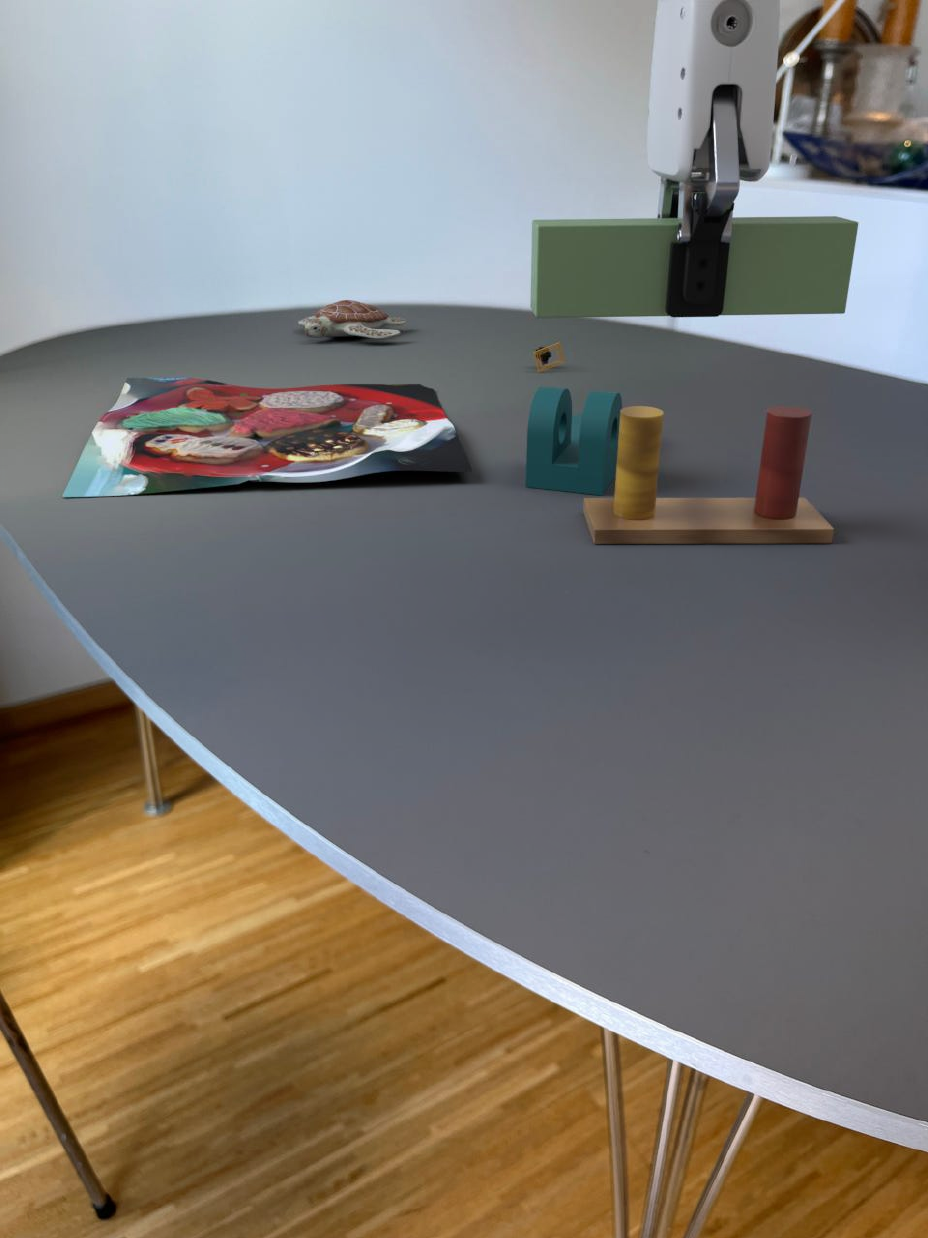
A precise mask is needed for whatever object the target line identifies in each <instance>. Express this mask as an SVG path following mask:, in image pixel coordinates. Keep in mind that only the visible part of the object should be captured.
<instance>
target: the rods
mask: <svg viewBox="0 0 928 1238" xmlns="http://www.w3.org/2000/svg"><path fill="white" fill-rule="evenodd" d="M812 415H813V414H812V411H810V410H809V409H806V408H803V407H798V406H790V405H779V406H778V405H777V406H772V407H769V408H768V409H767V410H766V415H765V423H764V432H763V438H762V447H761V453H760V460H759V467H758V468H759V469H758V477H757V483H756V492H755V497H657V496H658V495H657V494H658V493H657V491H658V482H659V470H660V459H661V451H662V450H661V449H662V438H663V427H664V416H665V412H664V411H663V410H662V409H661V408H657V407H653V406H646V405H645V406H644V405H633V406H632V405H631V406H626V407H622V409H621V411H620V423H619V437H618V451H617V465H616V476H615V478H614V481H615V484H614V493H613V494H614V495H613V497H584V498H583V505H582V512H583V515H584V516H583V517H584V519H585V522H586V524H587V527H588V530H589V533H590V536H591V539H592V542H593V544H594V545H678V544H679V545H703V544H704V545H706V544H707V545H723V544H727V545H731V544H733V545H737V544H742V545H744V544H749V545H750V544H751V545H752V544H753V545H754V544H758V545H759V544H761V545H763V544H764V545H767V544H768V545H769V544H771V545H772V544H833V539H834V533H835V528H834V527H833V526H832V525H831V524H830V522H828V520H827V519H826V518H825V517H824V516H823V515H822V514H821V513H820V511H818V509H816V507H815V506H814V505H813V504H812V503H811V502H810V500H808V499H807V498H806V497H800V493H801V487H802V480H803V473H804V467H805V461H806V453H807V448H808V441H809V434H810V427H811V421H812Z"/></svg>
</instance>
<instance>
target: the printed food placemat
mask: <svg viewBox="0 0 928 1238" xmlns="http://www.w3.org/2000/svg"><path fill="white" fill-rule="evenodd" d="M395 471H398V472H399V471H412V472H413V471H414V472H415V471H416V472H419V471H420V472H450V473H452V472H453V473H458V472H459V473H472V472H473V468H472V466H471V464H470V460H469V458H468V456H467V453H466V451H465V448H464V447H463V445H462V442H461V440H460V437H459V435H458V432H457V430H456V428H455V426H454V424H453V423H452V422H451V421H450V420H449V418H448V417H447V416H446V414H445V412H444V411H443V408H442V405H441V404H440V401H439V399H438V396H437V394H436V391H435V389H434V388H432V387H429V386H425V385H423V384H421V383H337V384H336V383H335V384H317V385H307V386H297V387H296V386H295V387H281V388H279V387H278V388H267V387H266V388H265V387H264V388H263V387H251V386H243V385H236V384H229V383H225V382H220V381H215V380H209V379H205V378H197V377H180V376H179V377H178V376H176V377H175V376H174V377H164V376H163V377H127V378H126V380H125V382H124V385H123V387H122V390H121V391H120V394H119V396H118V399H117V400H116V402H115V404H114V405H113V406H112V408H110V409H109V410H108V411H106V413H104V414H103V415H102V416H101V417H100V419H98V422H97V423H96V425H95V427H94V429H93V430H92V432H91V434H90V436H89V438H88V440H87V442H86V444H85V446H84V448H83V451H82V453H81V455H80V457H79V460H78V462H77V464H76V466H75V468H74V470H73V472H72V474H71V477H70V479H69V481H68V482H67V485H66V487H65V489H64V491H63V493H62V496H61V498H88V497H90V498H91V497H94V498H95V497H113V496H114V497H117V496H118V497H119V496H134V495H135V496H136V495H148V494H156V493H165V492H175V491H176V492H177V491H186V490H195V489H204V488H205V489H206V488H215V487H225V486H233V485H240V484H242V483H245V482H248V481H250V482H255V483H260V482H262V483H263V482H269V483H271V482H274V483H321V482H330V481H338V480H343V479H344V480H345V479H349V478H354V477H360V476H365V475H370V474H377V473H383V472H395Z"/></svg>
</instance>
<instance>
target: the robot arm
mask: <svg viewBox="0 0 928 1238" xmlns="http://www.w3.org/2000/svg"><path fill="white" fill-rule="evenodd" d="M656 6H657V7H656V14H655V15H656V16H655V20H654V37H653V45H652V46H653V48H652V58H651V71H650V82H649V97H648V110H647V111H648V112H647V128H646V129H647V131H646V160H647V165H648V168H649V169H650V170H651V171H652V172H653V174H656V175H657V176H658V177H660V185H659V195H658V205H657V214H656V218H678V225H677V241H678V242H671V245H670V258H669V271H668V285H667V298H666V313H667V314H668V315H669V316H668V317H670V318H717V317H719V316H720V317H721V316H722V315H721V314H722V312H723V307H724V297H725V287H726V277H727V267H728V257H729V247H730V243H729V242H730V239H731V232H732V217H733V215H734V208H735V200H737V199H736V198H737V197H738V195H739V192H740V187H741V186H740V185H741V181H743V182H748V183H751V182H752V183H754V182H755V183H756V182H758V181H760V180H761V179H762V178H764V176H765V175H766V174H767V172H768V170H769V169H770V164H771V155H772V146H773V145H772V144H773V131H774V118H775V105H776V92H777V91H776V90H777V75H778V61H779V60H778V59H779V45H780V44H779V43H780V42H779V41H780V19H781V18H780V16H781V13H780V12H781V0H657V5H656Z"/></svg>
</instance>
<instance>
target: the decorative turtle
mask: <svg viewBox="0 0 928 1238" xmlns="http://www.w3.org/2000/svg"><path fill="white" fill-rule="evenodd" d="M406 322H407V320H406V319H405V318H403V317H389V314H387V313H386V312H385V311H382V310H381V309H379V308H378V307H377V306H374V305H371V304H369V303H363V302H360V301H356V300H351V299H343V300H339V301H336V302H333V303H331V304H327V305H326V306H324V307H322V308H320V309H319V310H318V311H316V312H315V315H312V316H309V317H305V318H302V319H300V320H298V323H297V325H299V326H302V327H304V334H305V335H306V336H307V338H311V339H318V338H324V337H329V338H331V337H332V338H333V337H362V338H367V339H373V340H384V339H390V338H395V337H398V336H399V335H400V334H401V333H402V332H401V330H399V329H391V328H390V329H389V328H387V329H386V328H381V327H382V326H396V327H397V326H398V327H399V326H403V325H405V324H406Z"/></svg>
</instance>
